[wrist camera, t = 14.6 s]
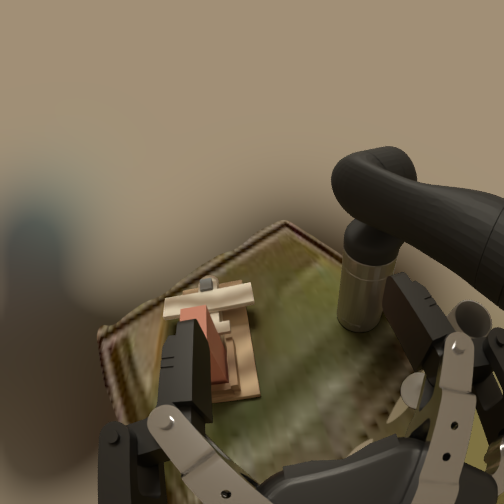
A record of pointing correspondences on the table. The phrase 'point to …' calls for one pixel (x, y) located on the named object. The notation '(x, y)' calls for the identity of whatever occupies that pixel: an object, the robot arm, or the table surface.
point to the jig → (225, 332)
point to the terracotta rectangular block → (210, 342)
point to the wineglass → (463, 320)
